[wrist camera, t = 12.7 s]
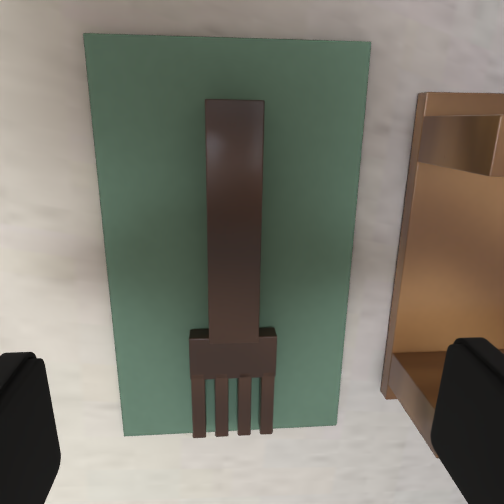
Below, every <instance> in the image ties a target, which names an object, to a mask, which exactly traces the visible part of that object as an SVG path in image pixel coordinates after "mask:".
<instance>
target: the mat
mask: <svg viewBox="0 0 504 504" xmlns="http://www.w3.org/2000/svg"><path fill="white" fill-rule="evenodd" d="M83 37H84V47H85V57H86V67H87V77H88V86H89V96H90V106H91V116H92V126H93V135H94V145H95V155H96V165H97V175H98V184H99V194H100V204H101V214H102V224H103V234H104V243H105V253H106V263H107V273H108V283H109V292H110V302H111V312H112V322H113V332H114V341H115V351H116V361H117V371H118V381H119V390H120V400H121V410H122V420H123V430H124V436H140V435H160V434H179V433H193V426H192V396H191V379H190V365H189V332H190V330H193V329H209V321H208V263H207V205H206V146H205V99H237V100H264V101H265V112H264V152H263V193H262V233H261V274H260V314H259V328H268V327H274V328H275V330H276V334H277V358H276V376H275V384H274V410H273V429H275V428H294V427H313V426H333V425H336V424H337V413H338V402H339V391H340V380H341V369H342V358H343V347H344V336H345V325H346V314H347V303H348V292H349V281H350V270H351V259H352V248H353V237H354V226H355V215H356V204H357V193H358V182H359V171H360V160H361V149H362V138H363V127H364V116H365V105H366V94H367V83H368V72H369V61H370V50H371V42H362V41H329V40H295V39H262V38H228V37H195V36H162V35H128V34H95V33H83ZM205 383H206V432H215V379H207V380H205ZM258 414H259V378H252V389H251V430H256V429H259V424H258ZM228 431H237V378H234V379H228Z"/></svg>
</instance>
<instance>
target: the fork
mask: <svg viewBox="0 0 504 504" xmlns="http://www.w3.org/2000/svg"><path fill="white" fill-rule="evenodd" d="M264 112H265V101H264V100H237V99H205V146H206V205H207V263H208V321H209V329H193V330H190V332H189V365H190V379H191V396H192V426H193V438H205V437H206V383H205V380H207V379H215V436H216V437H223V436H228V379H234V378H237V431H238V435H239V436H241V435H250V434H251V389H252V378H259V414H258V424H259V431H260V434H272V432H273V410H274V384H275V376H276V358H277V334H276V330H275V328H274V327H268V328H259V314H260V274H261V233H262V193H263V152H264Z"/></svg>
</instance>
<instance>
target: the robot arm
mask: <svg viewBox="0 0 504 504" xmlns="http://www.w3.org/2000/svg"><path fill="white" fill-rule="evenodd" d="M430 438H431V444H432V446H433V449H434V451H435V452H436V454H437V455H438V457H439V459H440V460H441V462H442V463H443V465H444V466H445V468H446V470H447V471H448V473H449V474H450V476H451V477H452V479H453V480H454V482H455V484H456V485H457V487H458V488H459V490H460V491H461V493H462V495H463V496H464V498H465V499H466V501H467V502H468V504H504V354H503V353H502V352H501V351H500V350H498V349H497V348H496V347H495V346H494V345H493V344H491V343H490V342H489V341H488V340H487V339H485V338H483V337H470V338H457V339H456V340H455V341H454V343H453V344H451V345H449V346H448V348H447V352H446V357H445V362H444V367H443V372H442V377H441V382H440V387H439V392H438V397H437V403H436V408H435V413H434V418H433V423H432V428H431V434H430ZM60 460H61V453H60V447H59V441H58V436H57V430H56V424H55V419H54V413H53V408H52V402H51V396H50V391H49V385H48V380H47V374H46V368H45V364H44V361H43V359H41V358H36V356H35V354H34V353H32V352H17V353H3V354H2V355H1V356H0V504H44V503H45V500H46V498H47V496H48V493H49V491H50V489H51V487H52V484H53V482H54V480H55V477H56V475H57V473H58V470H59V466H60Z"/></svg>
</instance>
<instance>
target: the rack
mask: <svg viewBox="0 0 504 504" xmlns="http://www.w3.org/2000/svg"><path fill="white" fill-rule="evenodd" d="M470 337H483V338H485V339H487V340H488V341H489V342H490V343H491V344H493V345H494V346H495V347H496V348H497V349H498V350H500V351H501V352H502V353H503V354H504V94H502V93H450V92H424V93H419V94H418V102H417V110H416V118H415V126H414V134H413V141H412V149H411V157H410V165H409V173H408V181H407V189H406V196H405V204H404V212H403V220H402V228H401V236H400V244H399V251H398V259H397V267H396V275H395V283H394V291H393V299H392V306H391V314H390V322H389V330H388V338H387V346H386V354H385V361H384V369H383V377H382V385H381V392H382V394H383V395H384V397H385V399H398V400H399V402H400V403H401V405H402V406H403V408H404V409H405V411H406V412H407V414H408V415H409V417H410V418H411V420H412V422H413V423H414V425H415V426H416V428H417V429H418V431H419V432H420V434H421V435H422V437H423V438H424V440H425V441H426V443H427V444H428V446H429V447H430V449H431V451H432V452H433V454H434V455H435V457H436V458H439V457H438V455H437V454H436V452H435V451H434V449H433V446H432V444H431V438H430V434H431V428H432V423H433V418H434V413H435V408H436V403H437V397H438V392H439V387H440V382H441V377H442V372H443V367H444V362H445V357H446V352H447V348H448V346H449V345H451V344H453V343H454V341H455V340H456V339H457V338H470Z"/></svg>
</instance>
